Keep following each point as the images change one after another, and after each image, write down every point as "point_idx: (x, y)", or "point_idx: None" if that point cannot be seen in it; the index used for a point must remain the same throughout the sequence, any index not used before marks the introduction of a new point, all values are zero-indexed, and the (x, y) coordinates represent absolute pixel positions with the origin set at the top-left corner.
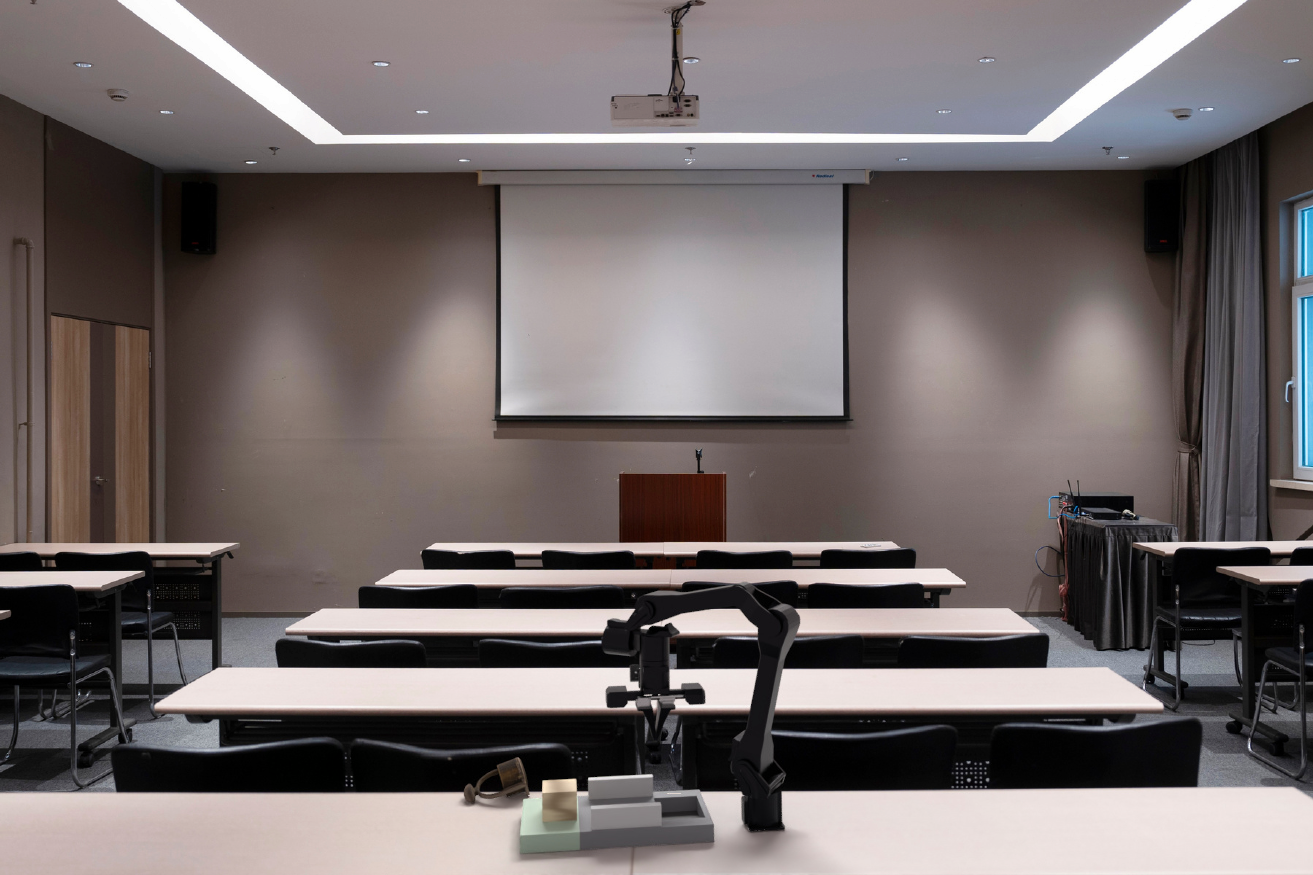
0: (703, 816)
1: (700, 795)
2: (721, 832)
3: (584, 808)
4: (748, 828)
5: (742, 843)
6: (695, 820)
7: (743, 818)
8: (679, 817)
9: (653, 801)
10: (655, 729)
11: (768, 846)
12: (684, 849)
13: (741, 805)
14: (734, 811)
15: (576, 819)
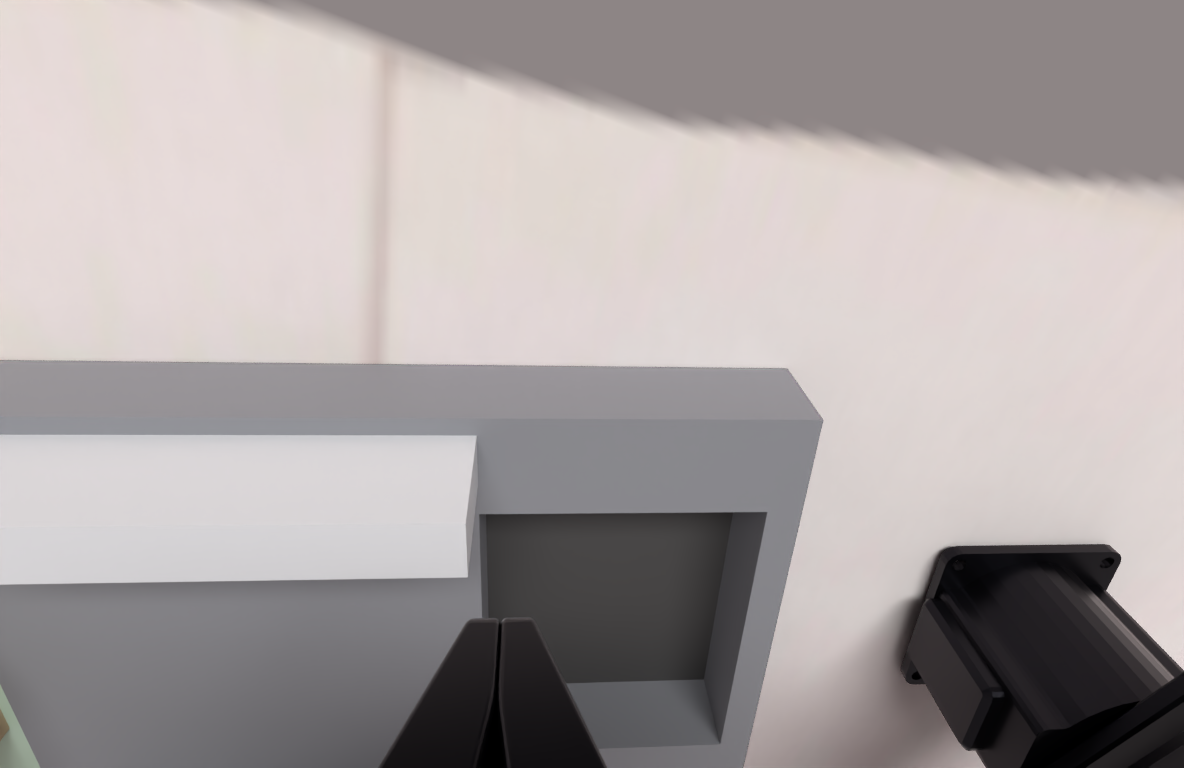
0: (724, 684)
1: (793, 508)
2: (779, 658)
3: (7, 606)
4: (905, 667)
5: (823, 739)
6: (662, 763)
7: (918, 651)
8: (622, 526)
9: (472, 557)
10: (500, 755)
11: (907, 762)
12: None
13: (956, 655)
14: (944, 468)
15: (4, 731)
